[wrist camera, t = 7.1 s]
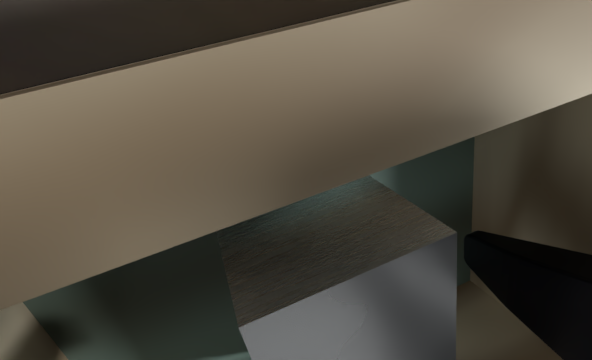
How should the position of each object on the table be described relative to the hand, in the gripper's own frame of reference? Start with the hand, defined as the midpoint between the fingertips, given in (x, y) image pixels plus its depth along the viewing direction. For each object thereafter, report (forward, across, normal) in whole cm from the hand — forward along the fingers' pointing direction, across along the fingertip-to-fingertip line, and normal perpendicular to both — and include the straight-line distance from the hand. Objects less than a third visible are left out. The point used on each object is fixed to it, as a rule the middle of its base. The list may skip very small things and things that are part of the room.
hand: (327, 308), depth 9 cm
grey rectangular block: (+2, 0, 0) cm, 2 cm away
